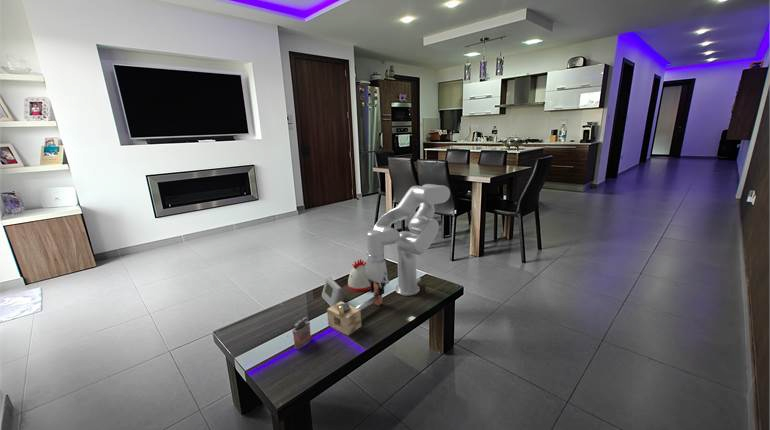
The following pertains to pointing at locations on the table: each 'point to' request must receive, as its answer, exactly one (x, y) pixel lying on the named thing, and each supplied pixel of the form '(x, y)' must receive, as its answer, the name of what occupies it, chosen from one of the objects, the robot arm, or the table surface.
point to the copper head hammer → (376, 299)
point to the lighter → (301, 333)
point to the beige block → (344, 319)
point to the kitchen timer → (358, 277)
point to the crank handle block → (342, 309)
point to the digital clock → (332, 292)
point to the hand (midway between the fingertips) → (377, 292)
